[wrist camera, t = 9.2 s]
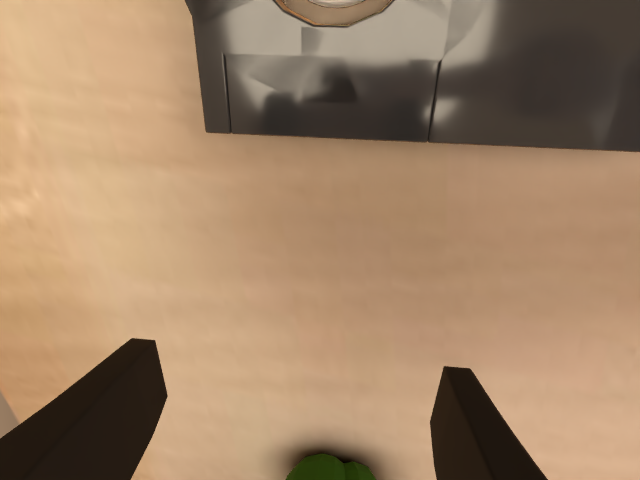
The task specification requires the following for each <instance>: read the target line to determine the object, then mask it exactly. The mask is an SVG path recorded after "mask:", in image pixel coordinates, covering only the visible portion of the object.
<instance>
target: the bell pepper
mask: <svg viewBox="0 0 640 480" xmlns="http://www.w3.org/2000/svg"><path fill="white" fill-rule="evenodd" d="M286 480H376V478H375V477H374V475H373V474H372V472H371V471H370V469H369V468H368V467H367V466H365V465H362V464H359V463H357V462H354V461H353V462H348V463H342V462H341V461H340V460H338V459H337V458H336V457H334V456H331V455H327V454H324V453H322V454H317V455H312V456H307V457H305V458H304V459H303V460H302V461H300V462H299V463H298V464H297V465H296V466H295V467H294V468H293V470H292V471H291V472H290V473H289V474H288V475H287V478H286Z"/></svg>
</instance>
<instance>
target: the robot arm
mask: <svg viewBox="0 0 640 480" xmlns="http://www.w3.org/2000/svg"><path fill="white" fill-rule="evenodd" d="M167 396H168V395H167V391H166V387H165V382H164V378H163V373H162V369H161V364H160V360H159V355H158V351H157V347H156V342H155V340H146V339H135V338H132V339H130V340H129V341H128V342H126V343H125V344H124V345H123V346H121V347H120V348H119V349H117V350H116V351H115V352H114V353H112V354H111V355H110V356H109V357H107V358H106V359H105V360H104V361H102V362H101V363H100V364H99V365H97V366H96V367H95V368H94V369H92V370H91V371H90V372H89V373H87V374H86V375H85V376H84V377H82V378H81V379H80V380H78V381H77V382H76V383H75V384H73V385H72V386H71V387H69V388H68V389H67V390H66V391H64V392H63V393H62V394H60V395H59V396H58V397H57V398H55V399H54V400H53V401H51V402H50V403H49V404H47V405H46V406H45V407H43V408H42V409H41V410H39V411H38V412H36V413H35V414H34V415H32V416H31V417H29V418H28V419H27V420H25V421H24V422H23V423H21V424H20V425H18V426H17V427H16V428H14V429H13V430H11V431H10V432H9V433H7V434H6V435H5V436H3V437H2V438H1V439H0V480H130V479H131V478H132V476H133V474H134V472H135V470H136V468H137V466H138V464H139V462H140V460H141V458H142V456H143V454H144V452H145V450H146V448H147V446H148V444H149V442H150V440H151V438H152V436H153V434H154V431H155V429H156V426H157V423H158V421H159V418H160V416H161V413H162V410H163V407H164V404H165V402H166V399H167ZM430 427H431V438H432V449H433V458H434V467H435V472H436V477H437V480H548V479H547V478H546V477H545V475H544V474H543V473H542V471H541V470H540V469H539V467H538V466H537V465H536V464H535V462H534V461H533V459H532V458H531V457H530V455H529V454H528V453H527V451H526V450H525V448H524V447H523V446H522V444H521V443H520V441H519V440H518V439H517V437H516V436H515V435H514V433H513V432H512V430H511V429H510V427H509V426H508V425H507V423H506V422H505V420H504V419H503V417H502V416H501V414H500V413H499V411H498V410H497V408H496V407H495V405H494V404H493V402H492V401H491V399H490V398H489V396H488V395H487V393H486V392H485V390H484V389H483V387H482V385H481V384H480V382H479V381H478V379H477V378H476V376H475V374H474V373H473V372H472V371H471V369H469V368H458V367H447V366H444V368H443V372H442V376H441V380H440V384H439V388H438V392H437V396H436V400H435V404H434V408H433V412H432V416H431V420H430Z"/></svg>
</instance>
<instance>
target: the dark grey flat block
mask: <svg viewBox="0 0 640 480" xmlns="http://www.w3.org/2000/svg"><path fill="white" fill-rule="evenodd" d="M185 2H186V4H187V6H188V9H189V11H190V13H191V15H192V19H193V27H194V36H195V44H196V53H197V61H198V70H199V78H200V87H201V95H202V104H203V113H204V121H205V130H206V132H207V133H223V134H230V133H232V134H246V135H269V136H291V137H313V138H335V139H358V140H380V141H402V142H427V141H428V142H429V143H447V144H469V145H491V146H514V147H536V148H558V149H580V150H603V151H625V152H640V0H390V1H389V2H388V3H387V4H386V5H385V6H384V7H383V9H382V10H381V11H380V12H377V13H375V14H373V15H370V16H368V17H366V18H363V19H361V20H359V21H356V22H354V23H352V24H350V25H345V24H317V23H315V22H313V21H311V20H309V19H307V18H305V17H303V16H301V15H299V14H297V13H295V12H293V11H291V10H289V9H288V7H287V6H286V5H285V4H284V3H283V2H282V1H281V0H185Z"/></svg>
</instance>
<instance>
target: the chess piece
mask: <svg viewBox="0 0 640 480" xmlns="http://www.w3.org/2000/svg"><path fill="white" fill-rule="evenodd" d="M308 1H310V2H312V3H315V4H317V5H320V6H324V7H331V8H342V7H348V6H352V5H356V4H358V3H361V2H363V1H365V0H308Z"/></svg>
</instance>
